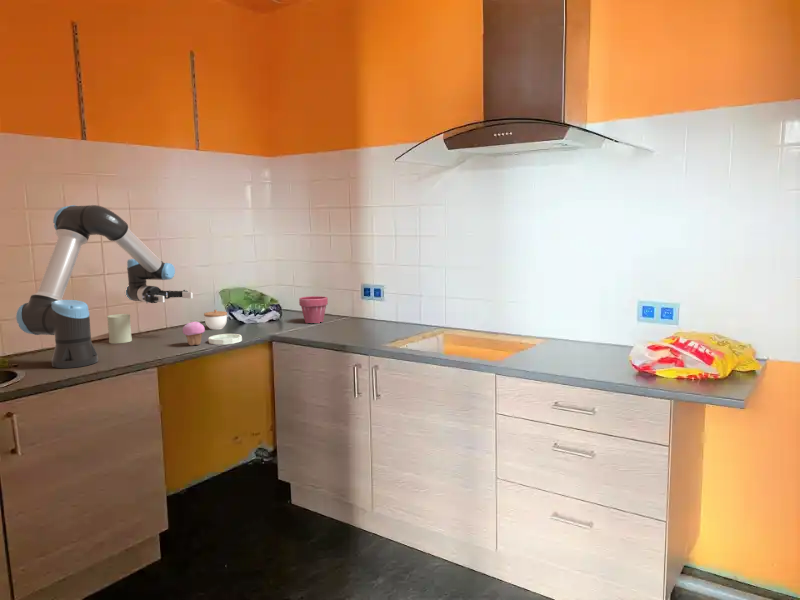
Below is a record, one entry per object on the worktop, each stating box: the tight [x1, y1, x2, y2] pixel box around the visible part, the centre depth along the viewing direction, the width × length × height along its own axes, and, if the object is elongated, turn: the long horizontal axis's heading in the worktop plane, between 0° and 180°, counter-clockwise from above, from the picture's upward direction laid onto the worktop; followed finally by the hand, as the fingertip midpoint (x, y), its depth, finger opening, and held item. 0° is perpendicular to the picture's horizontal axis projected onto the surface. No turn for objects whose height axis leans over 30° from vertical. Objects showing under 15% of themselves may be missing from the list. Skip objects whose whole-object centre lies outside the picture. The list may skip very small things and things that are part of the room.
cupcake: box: [182, 321, 206, 347], centre depth 253 cm, size 9×9×10 cm
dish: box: [208, 333, 243, 346], centre depth 260 cm, size 14×14×2 cm
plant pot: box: [298, 295, 329, 324], centre depth 305 cm, size 14×14×13 cm
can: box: [106, 313, 133, 345], centre depth 263 cm, size 9×9×12 cm
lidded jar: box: [203, 309, 228, 331], centre depth 292 cm, size 11×11×9 cm
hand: (178, 297), depth 257 cm, fingers open, 13 cm apart
